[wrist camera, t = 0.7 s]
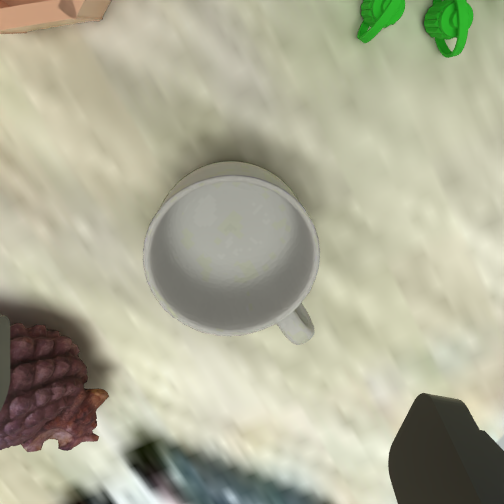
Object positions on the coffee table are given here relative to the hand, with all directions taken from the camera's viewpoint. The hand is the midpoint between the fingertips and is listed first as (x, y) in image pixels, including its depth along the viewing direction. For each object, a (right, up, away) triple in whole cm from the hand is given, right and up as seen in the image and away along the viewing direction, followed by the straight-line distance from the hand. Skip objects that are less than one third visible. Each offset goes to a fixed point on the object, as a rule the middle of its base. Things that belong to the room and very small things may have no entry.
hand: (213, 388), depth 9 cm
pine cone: (-18, -5, +31) cm, 36 cm away
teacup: (0, +4, +27) cm, 27 cm away
